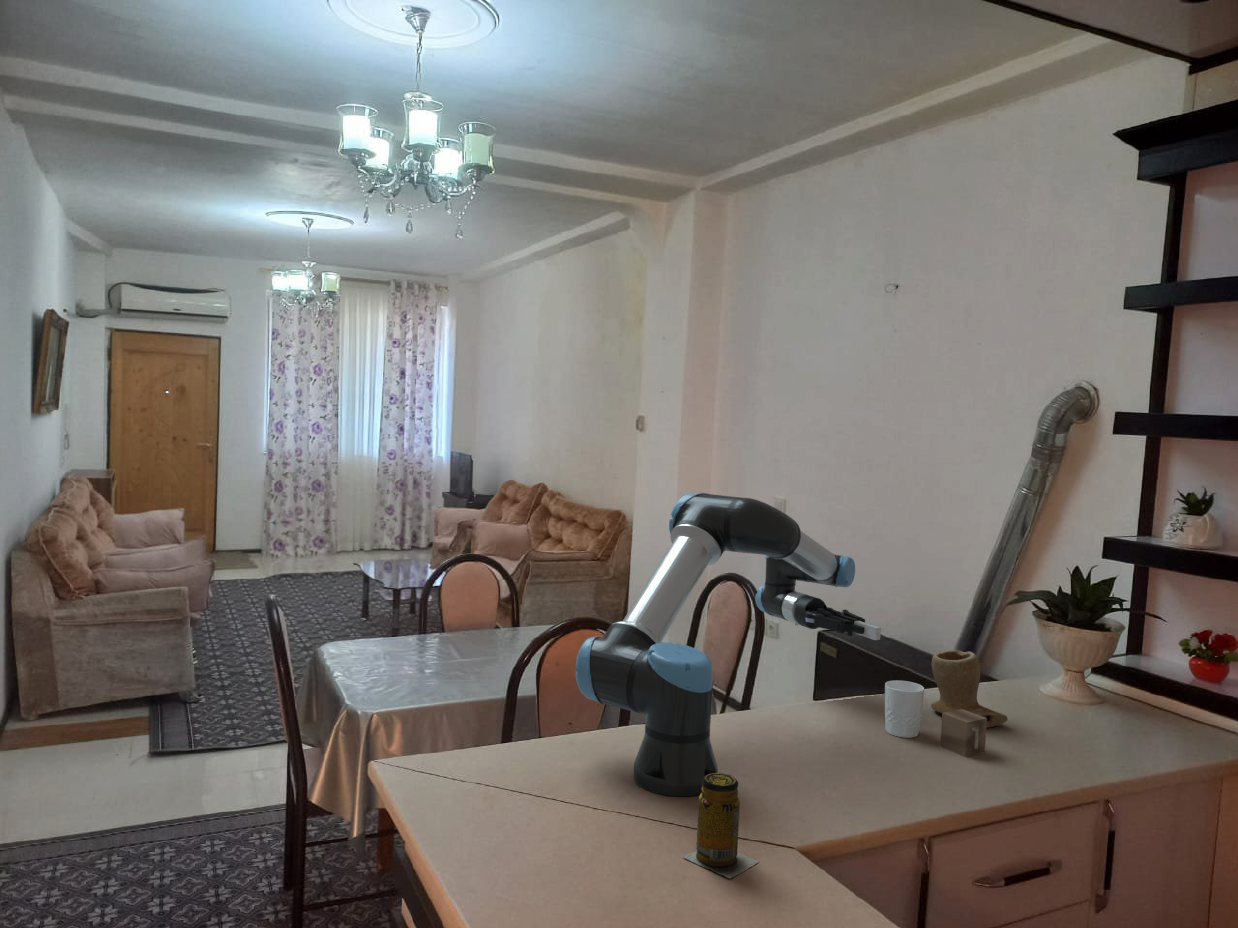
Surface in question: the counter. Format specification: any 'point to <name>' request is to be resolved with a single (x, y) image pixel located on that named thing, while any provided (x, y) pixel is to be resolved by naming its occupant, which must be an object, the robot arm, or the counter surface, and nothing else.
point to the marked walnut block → (963, 732)
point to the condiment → (719, 827)
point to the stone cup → (960, 685)
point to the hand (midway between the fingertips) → (877, 633)
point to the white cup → (903, 708)
